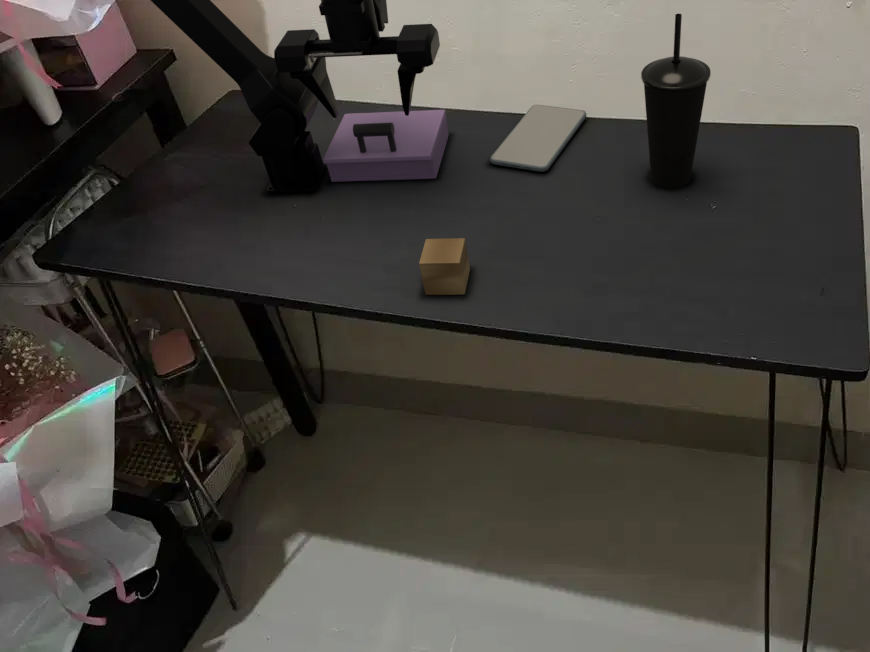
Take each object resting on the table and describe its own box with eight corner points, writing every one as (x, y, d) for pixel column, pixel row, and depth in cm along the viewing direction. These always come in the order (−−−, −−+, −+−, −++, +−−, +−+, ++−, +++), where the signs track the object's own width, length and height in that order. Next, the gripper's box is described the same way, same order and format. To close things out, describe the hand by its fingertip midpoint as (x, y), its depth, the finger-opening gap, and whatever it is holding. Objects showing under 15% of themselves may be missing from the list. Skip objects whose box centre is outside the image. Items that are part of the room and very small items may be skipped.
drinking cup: (632, 190, 102) (633, 27, 88) (648, 158, 107) (652, -2, 93) (694, 198, 100) (706, 32, 85) (708, 164, 104) (721, 2, 90)
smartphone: (487, 159, 109) (533, 103, 118) (488, 165, 110) (533, 109, 119) (546, 168, 106) (588, 110, 115) (546, 175, 107) (588, 116, 116)
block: (425, 295, 92) (418, 263, 89) (432, 270, 95) (425, 238, 92) (464, 294, 91) (459, 262, 88) (470, 269, 94) (465, 237, 91)
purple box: (436, 178, 109) (432, 156, 106) (331, 181, 111) (325, 160, 108) (449, 134, 116) (445, 113, 114) (351, 138, 118) (345, 117, 116)
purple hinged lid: (431, 159, 106) (425, 128, 103) (323, 163, 108) (315, 132, 105) (445, 113, 114) (440, 82, 111) (345, 117, 116) (338, 87, 113)
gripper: (437, -45, 97) (454, 82, 108) (284, -36, 100) (316, 87, 111) (420, -8, 90) (441, 125, 101) (255, 1, 92) (293, 129, 103)
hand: (371, 115), depth 104 cm, fingers open, 9 cm apart
